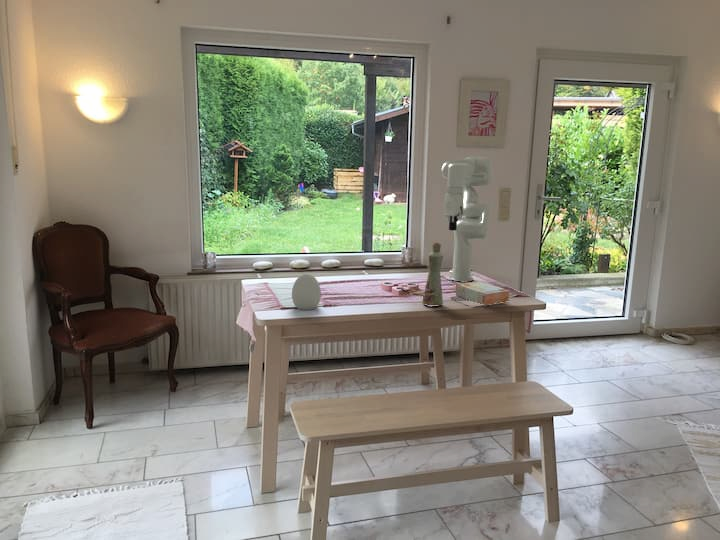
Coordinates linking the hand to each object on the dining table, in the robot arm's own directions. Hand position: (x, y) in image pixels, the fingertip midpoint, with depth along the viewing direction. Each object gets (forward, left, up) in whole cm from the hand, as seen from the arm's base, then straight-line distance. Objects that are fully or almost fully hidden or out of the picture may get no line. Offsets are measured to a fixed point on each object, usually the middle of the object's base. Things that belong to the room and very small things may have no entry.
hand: (452, 230), depth 281 cm
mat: (+19, +2, -30) cm, 36 cm away
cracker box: (+9, +4, -26) cm, 28 cm away
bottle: (+17, -21, -30) cm, 41 cm away
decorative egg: (0, -74, -30) cm, 80 cm away
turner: (-3, -16, -30) cm, 34 cm away
